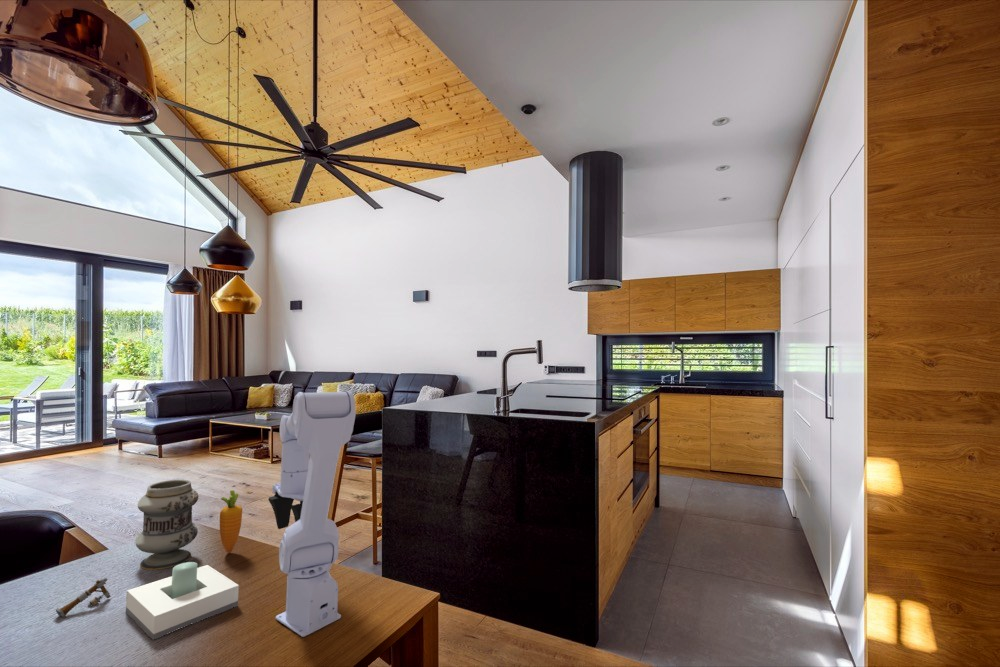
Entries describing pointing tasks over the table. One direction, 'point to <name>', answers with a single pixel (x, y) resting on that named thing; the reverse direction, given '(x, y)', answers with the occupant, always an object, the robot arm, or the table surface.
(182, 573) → the peg
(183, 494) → the apothecary jar
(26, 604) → the table surface
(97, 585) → the wooden post with brackets
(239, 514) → the carrot
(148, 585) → the socket block
